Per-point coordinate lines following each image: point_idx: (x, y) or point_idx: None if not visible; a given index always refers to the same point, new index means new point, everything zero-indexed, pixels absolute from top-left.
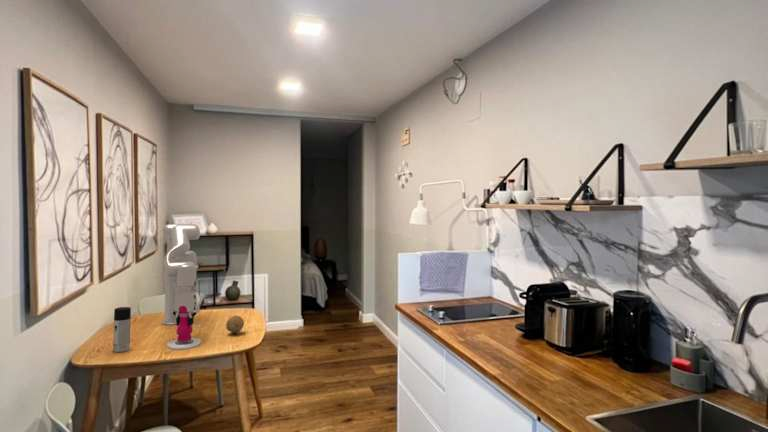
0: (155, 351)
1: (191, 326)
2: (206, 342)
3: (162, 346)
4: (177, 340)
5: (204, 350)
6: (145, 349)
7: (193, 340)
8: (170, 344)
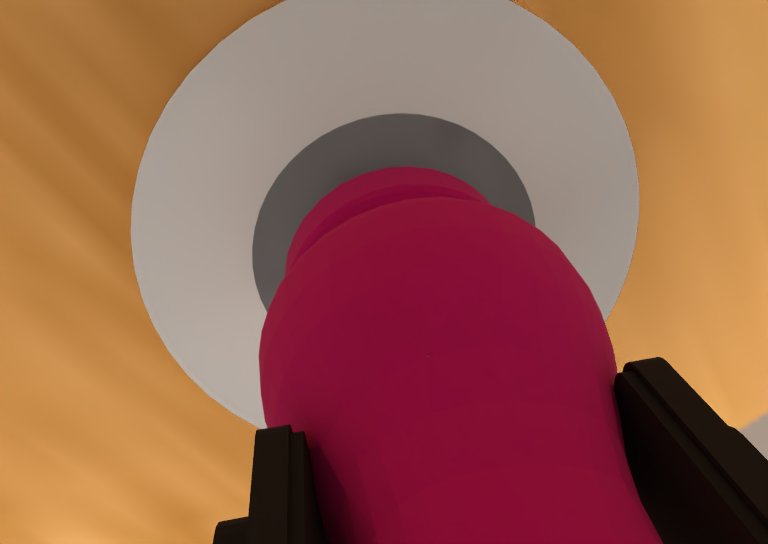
0: (201, 523)
1: (615, 365)
2: (680, 55)
3: (129, 377)
4: (214, 206)
5: (759, 354)
6: (14, 512)
7: (503, 158)
8: (256, 388)
